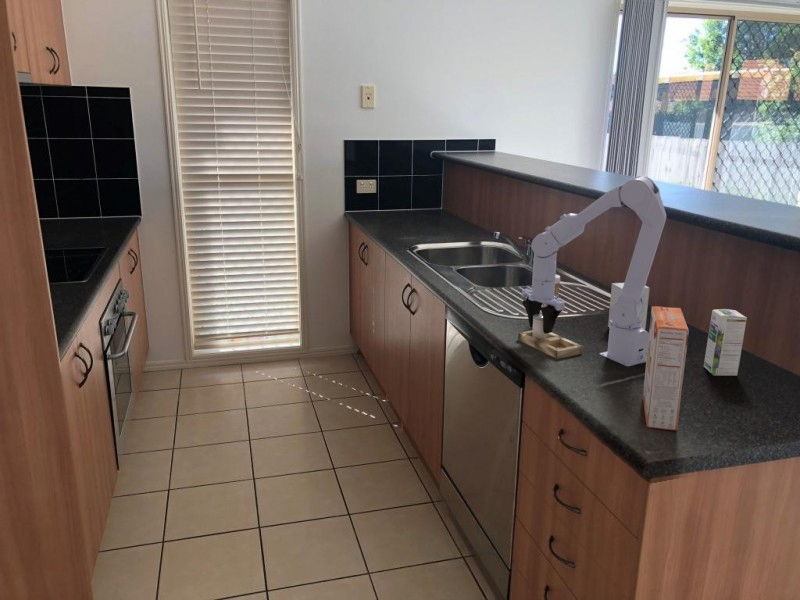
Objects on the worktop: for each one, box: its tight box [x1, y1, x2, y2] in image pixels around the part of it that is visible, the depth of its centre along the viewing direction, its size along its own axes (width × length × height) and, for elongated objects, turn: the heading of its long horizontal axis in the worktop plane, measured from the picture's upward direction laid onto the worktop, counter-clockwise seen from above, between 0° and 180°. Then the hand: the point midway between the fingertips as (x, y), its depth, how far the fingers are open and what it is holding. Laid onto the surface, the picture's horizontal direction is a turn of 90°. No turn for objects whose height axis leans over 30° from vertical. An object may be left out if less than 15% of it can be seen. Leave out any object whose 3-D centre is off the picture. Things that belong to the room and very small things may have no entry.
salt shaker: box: [532, 313, 548, 340], centre depth 171 cm, size 4×4×7 cm
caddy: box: [517, 330, 584, 360], centre depth 168 cm, size 16×8×2 cm, turn 28°
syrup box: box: [703, 308, 748, 377], centre depth 152 cm, size 6×6×14 cm
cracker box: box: [642, 305, 690, 432], centre depth 130 cm, size 14×6×21 cm, turn 163°
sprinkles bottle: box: [542, 274, 561, 321], centre depth 189 cm, size 5×5×14 cm
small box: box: [607, 282, 650, 331], centre depth 181 cm, size 8×6×13 cm
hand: (540, 329), depth 171 cm, fingers open, 5 cm apart
